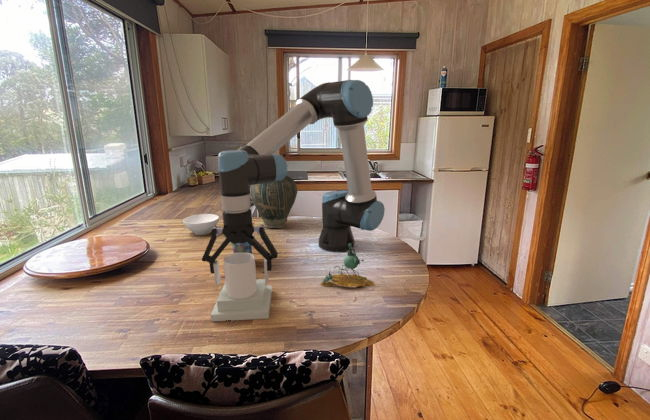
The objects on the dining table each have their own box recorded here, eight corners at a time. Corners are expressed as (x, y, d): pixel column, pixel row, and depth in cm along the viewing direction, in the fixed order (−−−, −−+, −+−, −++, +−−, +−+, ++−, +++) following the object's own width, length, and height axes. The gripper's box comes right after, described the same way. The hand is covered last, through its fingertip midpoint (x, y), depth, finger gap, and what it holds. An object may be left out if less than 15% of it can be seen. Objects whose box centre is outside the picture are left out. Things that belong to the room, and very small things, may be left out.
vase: (261, 219, 182) (258, 163, 174) (302, 220, 179) (300, 163, 171) (246, 232, 160) (241, 169, 153) (292, 234, 157) (290, 169, 150)
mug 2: (239, 278, 103) (236, 246, 100) (265, 280, 102) (263, 248, 99) (221, 298, 92) (217, 263, 89) (250, 301, 90) (247, 265, 88)
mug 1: (246, 269, 121) (244, 241, 119) (225, 265, 125) (222, 237, 122) (265, 257, 132) (263, 231, 129) (245, 253, 136) (243, 228, 133)
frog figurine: (321, 275, 116) (326, 234, 113) (374, 283, 115) (380, 242, 111) (318, 288, 107) (322, 244, 103) (375, 297, 106) (382, 252, 102)
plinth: (272, 291, 106) (271, 276, 104) (268, 318, 91) (267, 301, 90) (223, 293, 105) (221, 278, 103) (211, 321, 90) (209, 304, 89)
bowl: (227, 230, 163) (226, 216, 162) (199, 240, 150) (197, 225, 149) (205, 225, 172) (204, 212, 170) (177, 234, 159) (175, 220, 157)
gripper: (284, 204, 95) (287, 274, 101) (192, 207, 93) (200, 278, 99) (283, 211, 88) (286, 286, 93) (184, 214, 86) (193, 290, 91)
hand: (242, 282), depth 96 cm, fingers open, 13 cm apart
